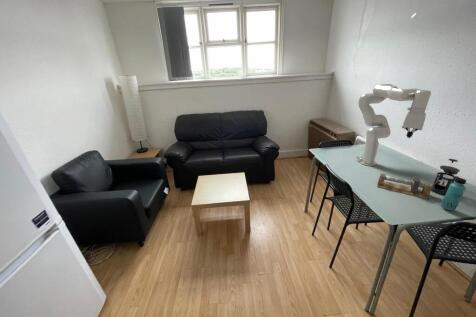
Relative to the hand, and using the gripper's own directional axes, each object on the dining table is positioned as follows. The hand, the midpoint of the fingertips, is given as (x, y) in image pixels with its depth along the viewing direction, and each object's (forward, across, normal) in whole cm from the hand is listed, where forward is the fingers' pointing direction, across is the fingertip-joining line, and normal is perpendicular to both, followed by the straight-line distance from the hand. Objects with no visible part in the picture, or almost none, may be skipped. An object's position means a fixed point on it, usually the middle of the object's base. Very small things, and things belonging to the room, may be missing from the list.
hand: (408, 137), depth 138 cm
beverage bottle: (+32, +24, -28) cm, 49 cm away
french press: (+32, +24, -6) cm, 41 cm away
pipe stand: (+32, +3, -16) cm, 36 cm away
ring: (+30, +9, -16) cm, 35 cm away
